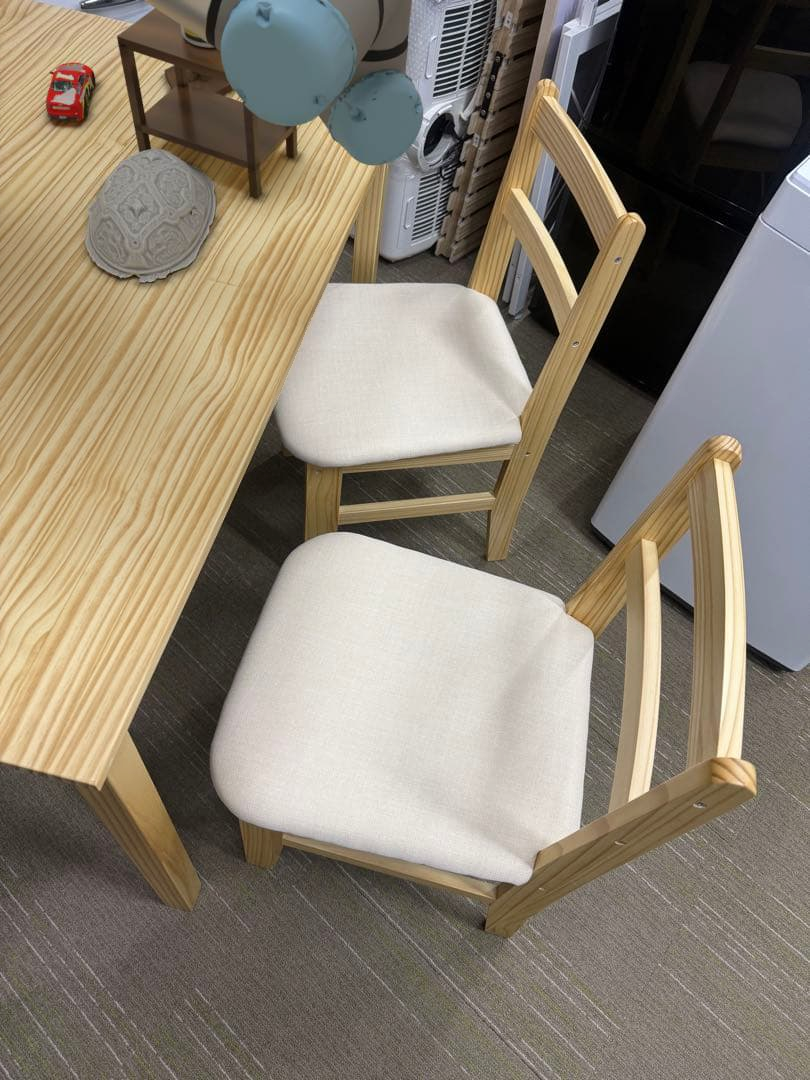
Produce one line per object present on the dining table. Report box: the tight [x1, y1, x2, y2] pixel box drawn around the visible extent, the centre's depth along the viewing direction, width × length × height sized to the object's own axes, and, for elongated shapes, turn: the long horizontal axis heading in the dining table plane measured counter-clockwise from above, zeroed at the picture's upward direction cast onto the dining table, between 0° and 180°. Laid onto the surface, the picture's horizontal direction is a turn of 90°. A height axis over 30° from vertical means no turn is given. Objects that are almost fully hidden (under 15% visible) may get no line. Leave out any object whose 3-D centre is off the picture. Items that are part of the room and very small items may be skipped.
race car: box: [45, 62, 96, 123], centre depth 111 cm, size 13×5×4 cm, turn 2°
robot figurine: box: [163, 65, 235, 96], centre depth 113 cm, size 11×9×12 cm
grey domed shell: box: [84, 148, 217, 283], centre depth 98 cm, size 16×25×7 cm, turn 178°
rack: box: [116, 7, 298, 200], centre depth 102 cm, size 12×18×16 cm, turn 68°
